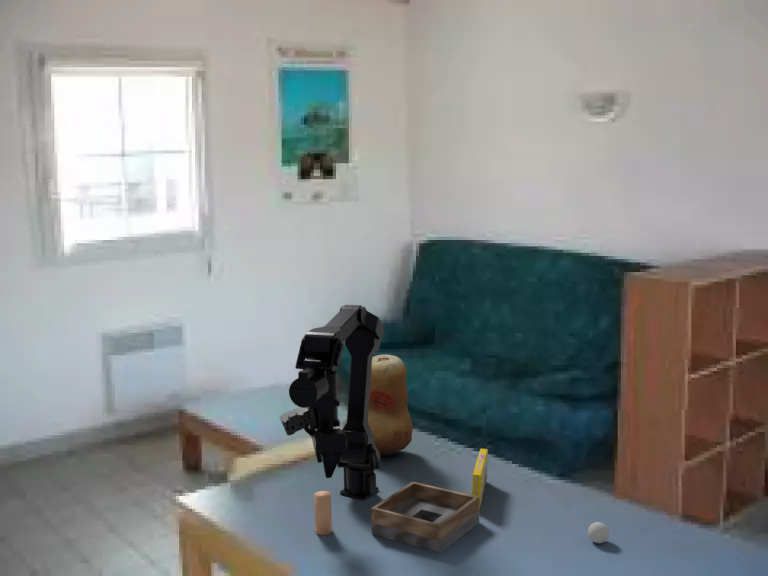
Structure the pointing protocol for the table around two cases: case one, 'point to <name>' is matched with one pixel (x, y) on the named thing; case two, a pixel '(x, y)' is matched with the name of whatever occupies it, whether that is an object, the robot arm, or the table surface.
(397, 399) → the butternut squash
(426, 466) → the table surface
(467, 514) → the bore box
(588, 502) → the table surface
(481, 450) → the candy box
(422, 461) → the table surface
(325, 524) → the peg
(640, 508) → the table surface
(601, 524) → the sports ball
